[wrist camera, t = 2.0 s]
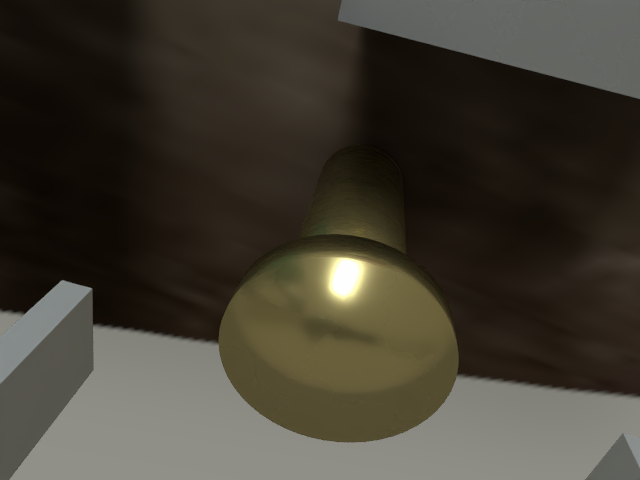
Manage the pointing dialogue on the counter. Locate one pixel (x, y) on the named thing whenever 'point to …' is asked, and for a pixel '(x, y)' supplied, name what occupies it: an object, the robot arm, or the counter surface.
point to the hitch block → (522, 34)
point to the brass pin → (343, 315)
